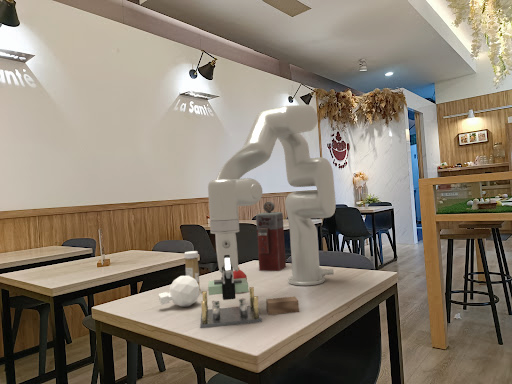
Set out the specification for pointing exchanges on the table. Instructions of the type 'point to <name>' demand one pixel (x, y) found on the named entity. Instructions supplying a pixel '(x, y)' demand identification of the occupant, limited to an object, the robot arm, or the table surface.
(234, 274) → the onion
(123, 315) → the table surface
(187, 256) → the sprinkles bottle
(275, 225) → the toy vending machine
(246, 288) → the board
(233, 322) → the chassis
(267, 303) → the walnut stand
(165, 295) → the perfume bottle
